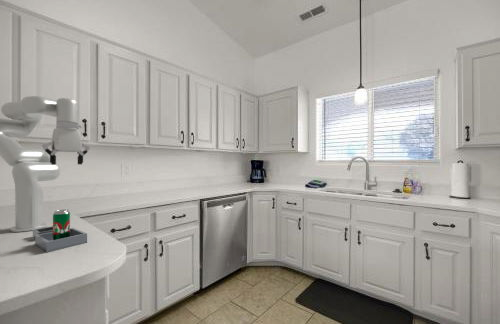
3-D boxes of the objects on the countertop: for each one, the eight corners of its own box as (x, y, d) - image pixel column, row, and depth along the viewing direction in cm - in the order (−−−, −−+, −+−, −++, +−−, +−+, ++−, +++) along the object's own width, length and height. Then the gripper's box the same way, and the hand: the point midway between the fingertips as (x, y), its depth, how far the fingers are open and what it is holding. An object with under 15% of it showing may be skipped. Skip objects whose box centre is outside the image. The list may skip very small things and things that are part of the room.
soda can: (67, 238, 91) (67, 208, 91) (71, 241, 88) (71, 210, 88) (51, 242, 87) (51, 210, 87) (54, 245, 84) (54, 212, 84)
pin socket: (32, 237, 96) (32, 229, 96) (56, 232, 102) (56, 225, 102) (38, 240, 91) (38, 233, 91) (62, 235, 98) (62, 228, 98)
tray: (35, 244, 87) (35, 235, 87) (73, 236, 97) (73, 227, 97) (47, 252, 79) (47, 242, 79) (87, 242, 89) (87, 233, 89)
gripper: (85, 129, 113) (85, 164, 113) (39, 124, 98) (39, 164, 98) (92, 128, 108) (92, 164, 108) (44, 123, 94) (44, 164, 94)
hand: (67, 164), depth 103 cm, fingers open, 9 cm apart
